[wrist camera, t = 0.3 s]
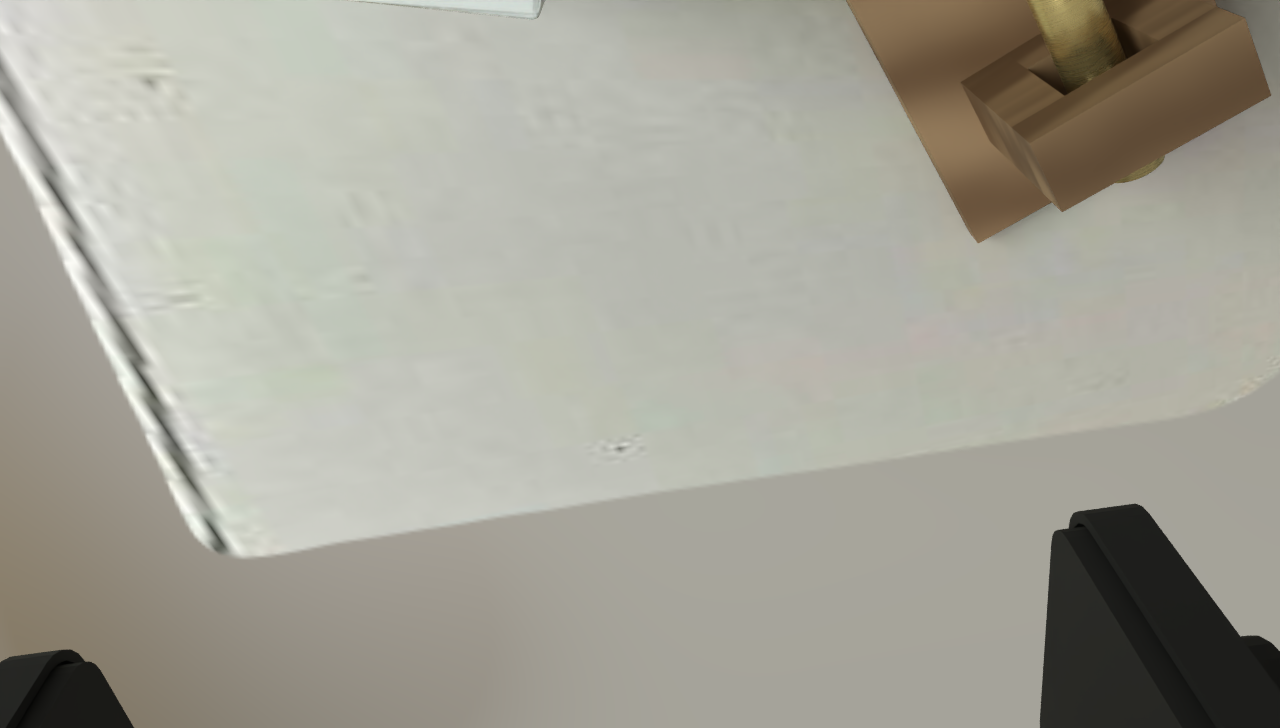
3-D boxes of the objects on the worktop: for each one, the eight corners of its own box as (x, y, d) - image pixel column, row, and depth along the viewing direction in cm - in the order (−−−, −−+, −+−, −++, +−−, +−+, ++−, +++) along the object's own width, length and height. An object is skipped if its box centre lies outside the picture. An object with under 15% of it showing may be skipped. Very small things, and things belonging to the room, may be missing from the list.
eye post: (811, -66, 39) (861, -25, 32) (1106, -266, 36) (1242, -275, 29) (969, 232, 46) (1043, 327, 38) (1231, 84, 43) (1370, 154, 35)
